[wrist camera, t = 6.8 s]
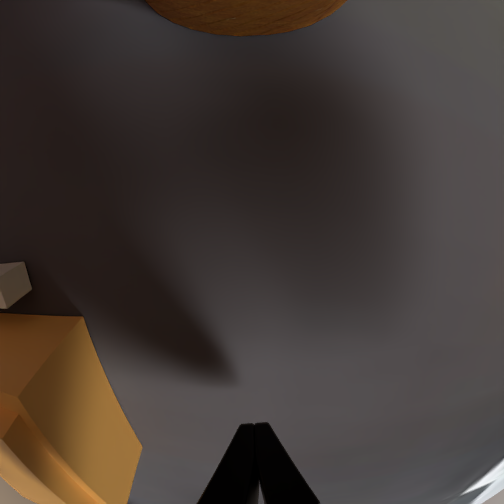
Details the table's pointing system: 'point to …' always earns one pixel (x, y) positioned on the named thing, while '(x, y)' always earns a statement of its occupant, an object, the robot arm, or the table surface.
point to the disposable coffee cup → (245, 14)
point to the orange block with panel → (60, 415)
